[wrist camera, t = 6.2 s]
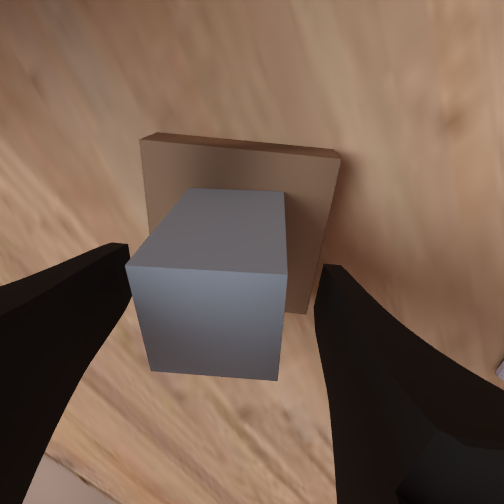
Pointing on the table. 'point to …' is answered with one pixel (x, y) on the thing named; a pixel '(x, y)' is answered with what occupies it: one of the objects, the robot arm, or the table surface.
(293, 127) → the table surface
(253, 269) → the blue block
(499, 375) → the robot arm
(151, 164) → the walnut slab
